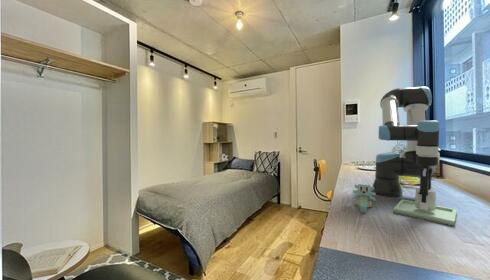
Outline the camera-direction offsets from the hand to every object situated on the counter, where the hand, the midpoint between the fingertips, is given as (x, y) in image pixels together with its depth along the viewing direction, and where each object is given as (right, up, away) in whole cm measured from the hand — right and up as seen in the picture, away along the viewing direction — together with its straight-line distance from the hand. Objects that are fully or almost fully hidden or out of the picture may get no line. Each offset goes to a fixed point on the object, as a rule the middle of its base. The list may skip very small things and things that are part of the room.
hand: (424, 207), depth 99 cm
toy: (-24, -3, +6) cm, 25 cm away
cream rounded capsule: (0, 0, 0) cm, 0 cm away
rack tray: (0, -3, 0) cm, 3 cm away
